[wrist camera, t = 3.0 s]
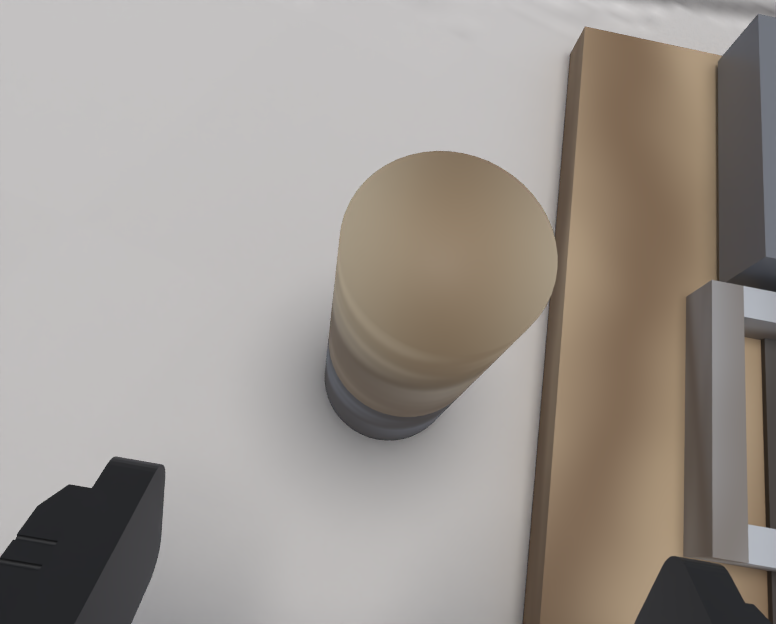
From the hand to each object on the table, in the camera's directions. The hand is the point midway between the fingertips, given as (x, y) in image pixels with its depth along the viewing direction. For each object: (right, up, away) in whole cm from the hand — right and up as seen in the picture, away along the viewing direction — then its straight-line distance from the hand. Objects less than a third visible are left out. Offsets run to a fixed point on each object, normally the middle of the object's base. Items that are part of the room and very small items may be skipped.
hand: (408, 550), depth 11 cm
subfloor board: (+13, +2, +13) cm, 18 cm away
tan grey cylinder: (0, +2, +11) cm, 11 cm away
